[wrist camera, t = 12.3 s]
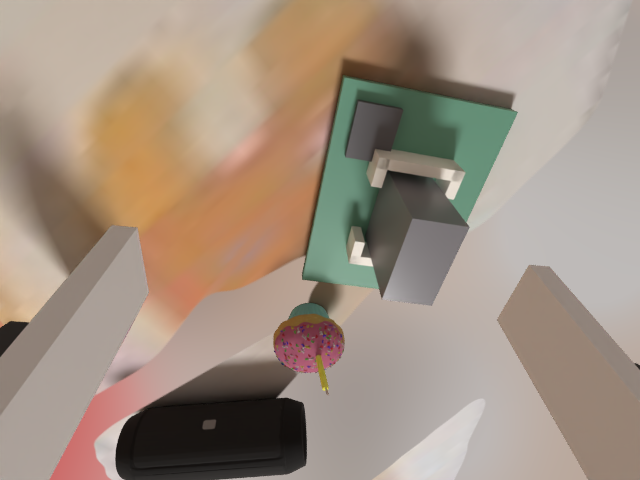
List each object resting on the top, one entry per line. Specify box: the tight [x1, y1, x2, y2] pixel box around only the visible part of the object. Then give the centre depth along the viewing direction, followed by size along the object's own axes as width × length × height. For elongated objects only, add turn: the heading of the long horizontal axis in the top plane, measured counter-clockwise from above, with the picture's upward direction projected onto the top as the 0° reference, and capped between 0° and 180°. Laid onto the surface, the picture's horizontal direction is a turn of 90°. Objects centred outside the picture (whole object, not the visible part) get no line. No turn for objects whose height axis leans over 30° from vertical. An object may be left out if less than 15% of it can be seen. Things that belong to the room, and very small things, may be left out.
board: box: [302, 75, 518, 289], centre depth 36 cm, size 22×16×4 cm
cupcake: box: [274, 303, 344, 395], centre depth 42 cm, size 9×8×12 cm
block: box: [365, 170, 469, 305], centre depth 33 cm, size 9×4×10 cm, turn 169°
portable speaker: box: [115, 398, 307, 480], centre depth 53 cm, size 26×10×10 cm, turn 94°
